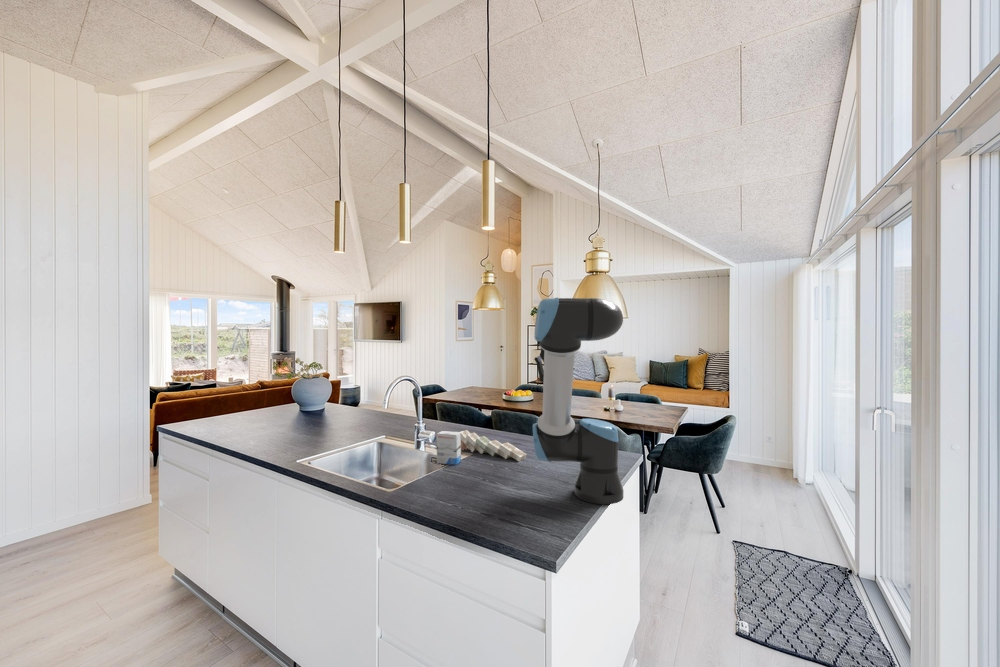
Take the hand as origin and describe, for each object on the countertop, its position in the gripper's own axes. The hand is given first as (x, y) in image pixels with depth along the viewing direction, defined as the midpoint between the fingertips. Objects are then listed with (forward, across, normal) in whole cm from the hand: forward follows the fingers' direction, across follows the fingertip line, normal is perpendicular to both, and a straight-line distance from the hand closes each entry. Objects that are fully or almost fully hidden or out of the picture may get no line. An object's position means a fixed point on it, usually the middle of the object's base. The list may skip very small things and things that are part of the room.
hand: (549, 400), depth 163 cm
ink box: (+25, +33, +22) cm, 47 cm away
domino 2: (+24, +28, +4) cm, 37 cm away
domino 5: (+24, +10, +4) cm, 26 cm away
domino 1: (+24, +32, +4) cm, 40 cm away
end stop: (+24, +40, +4) cm, 47 cm away
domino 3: (+24, +22, +4) cm, 33 cm away
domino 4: (+24, +16, +4) cm, 29 cm away
